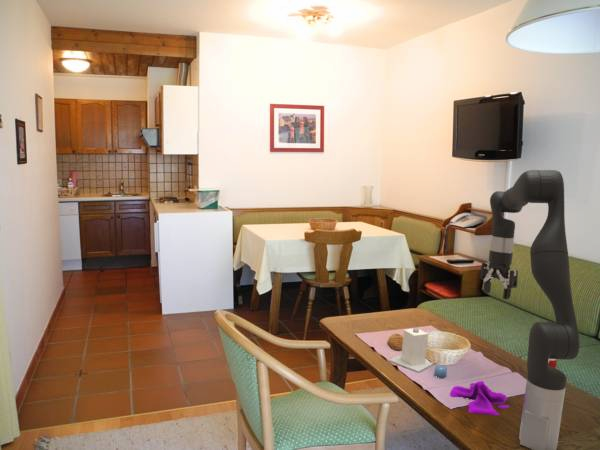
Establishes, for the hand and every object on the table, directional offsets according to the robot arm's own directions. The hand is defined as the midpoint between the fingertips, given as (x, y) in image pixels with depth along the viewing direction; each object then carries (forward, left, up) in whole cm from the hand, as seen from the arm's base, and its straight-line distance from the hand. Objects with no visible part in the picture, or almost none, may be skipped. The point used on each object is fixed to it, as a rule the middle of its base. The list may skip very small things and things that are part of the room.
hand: (496, 295), depth 179 cm
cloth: (-23, -9, -28) cm, 37 cm away
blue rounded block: (-19, +8, -27) cm, 34 cm away
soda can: (-2, -20, -27) cm, 33 cm away
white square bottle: (-17, +20, -26) cm, 37 cm away
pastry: (-8, +33, -27) cm, 43 cm away
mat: (-17, +20, -27) cm, 38 cm away
